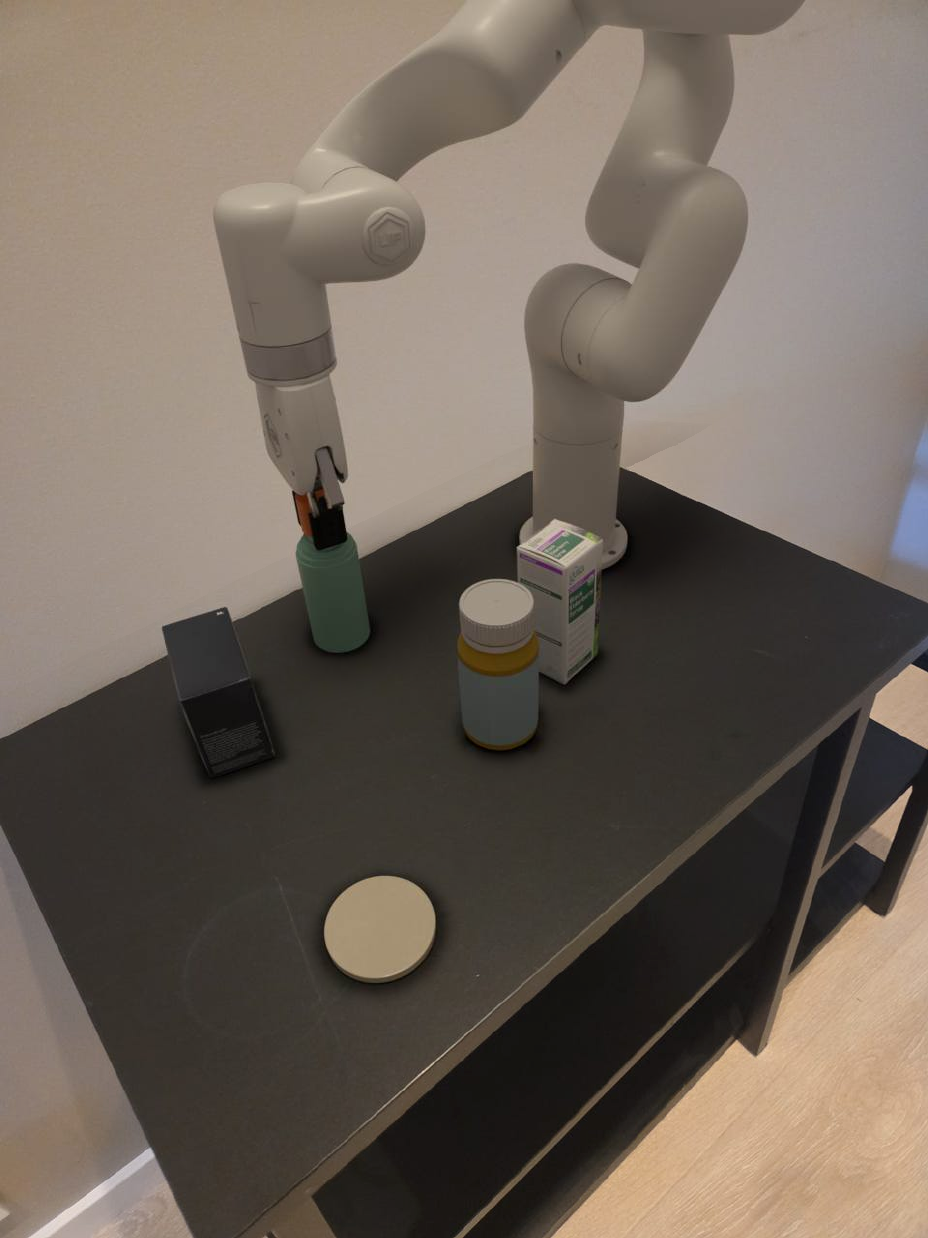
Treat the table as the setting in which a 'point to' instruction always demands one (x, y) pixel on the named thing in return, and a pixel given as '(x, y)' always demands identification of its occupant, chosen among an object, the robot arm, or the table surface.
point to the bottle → (498, 664)
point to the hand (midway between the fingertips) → (322, 531)
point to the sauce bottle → (334, 594)
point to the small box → (217, 692)
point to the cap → (305, 510)
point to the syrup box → (563, 595)
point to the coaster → (380, 929)
